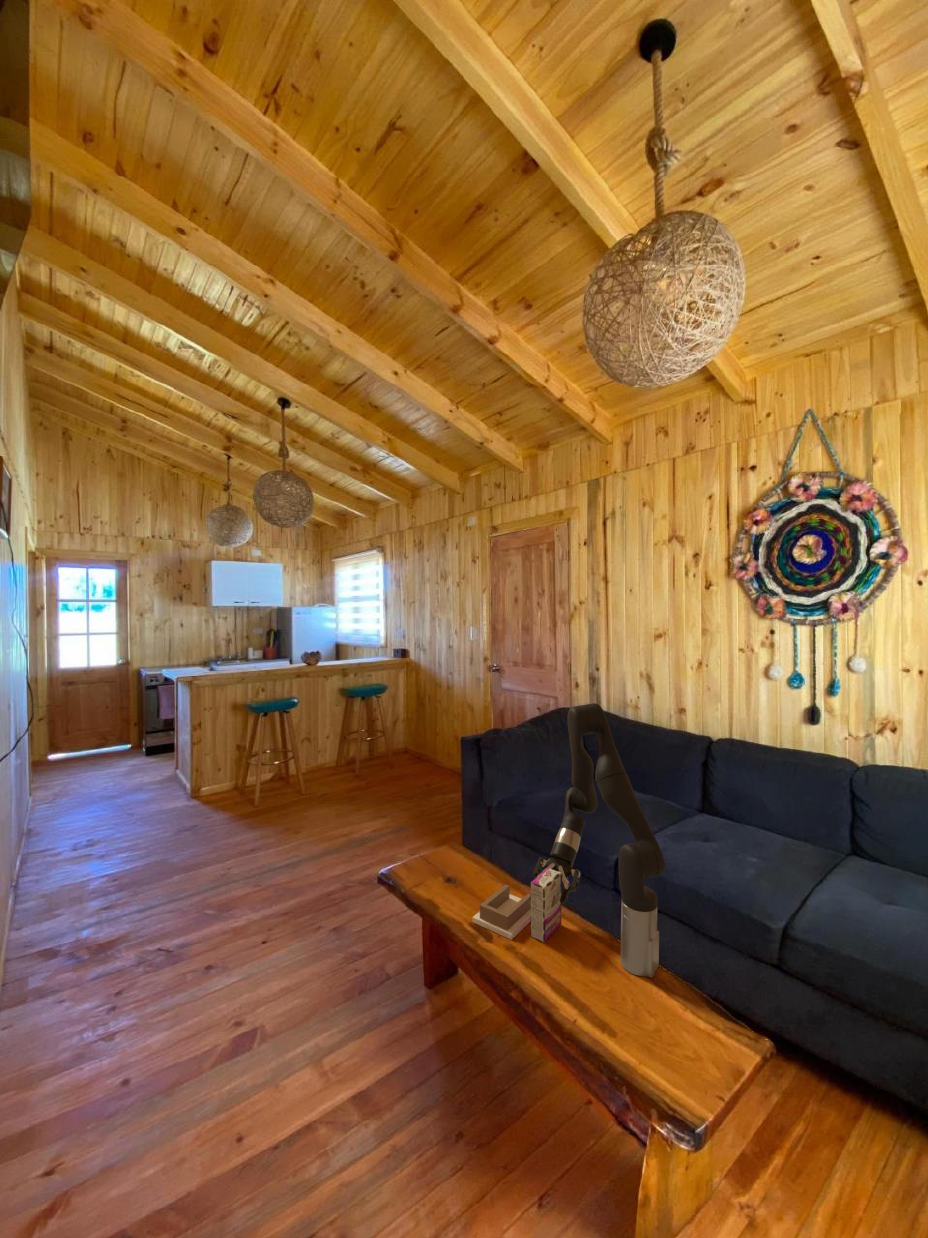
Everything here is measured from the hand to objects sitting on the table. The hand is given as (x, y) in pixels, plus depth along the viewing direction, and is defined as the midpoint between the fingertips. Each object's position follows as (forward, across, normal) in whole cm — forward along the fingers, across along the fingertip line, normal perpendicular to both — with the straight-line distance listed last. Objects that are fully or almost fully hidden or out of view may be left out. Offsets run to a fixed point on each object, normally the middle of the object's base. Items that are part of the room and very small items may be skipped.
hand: (548, 898), depth 155 cm
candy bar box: (+8, 0, +6) cm, 10 cm away
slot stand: (+8, -13, +5) cm, 16 cm away
